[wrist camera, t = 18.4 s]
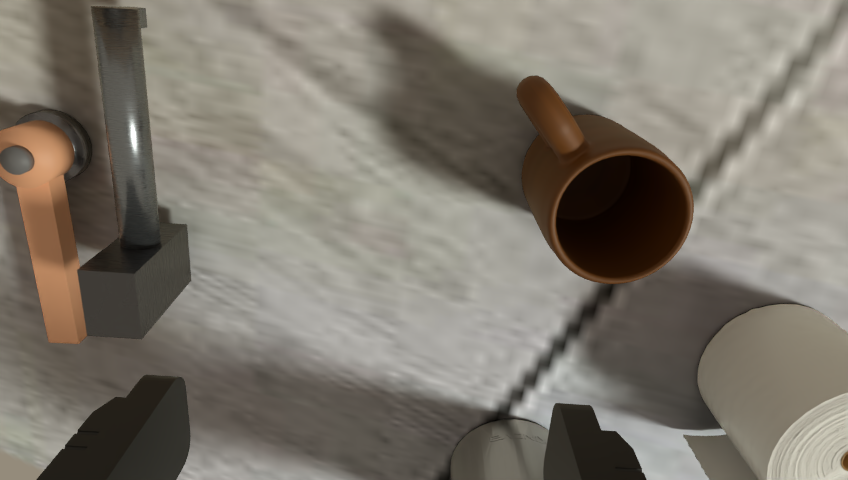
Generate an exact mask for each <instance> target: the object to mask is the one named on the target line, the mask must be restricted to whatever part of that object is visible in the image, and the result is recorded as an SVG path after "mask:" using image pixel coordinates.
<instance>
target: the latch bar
mask: <svg viewBox="0 0 848 480" xmlns="http://www.w3.org/2000/svg"><path fill="white" fill-rule="evenodd" d="M73 162H74V148H73V145H72V143H71V141H70V139H69V137H68V136H67V135H66V133H65V132H64V131H63V130H62V129H60V128H59V127H58V126H56V125H54V124H52V123H50V122H47V121H42V120H34V121H29V122H26V123H23V124H20V125H16V126H13V127H10V128H7V129H3V130H1V131H0V177H1V178H3V179H4V180H5V181H6V182H8V183H10V184H12V185H14V186H16V188H17V193H18V197H19V202H20V207H21V212H22V217H23V221H24V226H25V231H26V236H27V240H28V245H29V250H30V255H31V260H32V264H33V269H34V274H35V279H36V283H37V288H38V293H39V298H40V302H41V307H42V312H43V317H44V322H45V326H46V331H47V336H48V341H49V343H70V344H79V343H80V342H81V341H82V340H83V339H84V338H85V337H86V336H87V332H86V325H85V319H84V312H83V306H82V299H81V293H80V286H79V280H78V273H77V270H78V269H79V268H80V265H79V259H78V254H77V248H76V242H75V237H74V231H73V225H72V220H71V214H70V209H69V203H68V197H67V192H66V186H65V180H64V174H65V173H67V172H68V171H69V170H70V168H71V167H72V165H73Z"/></svg>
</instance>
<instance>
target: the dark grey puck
mask: <svg viewBox="0 0 848 480" xmlns="http://www.w3.org/2000/svg"><path fill="white" fill-rule="evenodd" d="M34 120H42V121H47V122H50V123H52V124H54V125H56V126H58V127H59V128H60V129H62V130H63V131H64V132H65V133H66V135H67V136H68V137H69V139H70V141H71V143H72V145H73V148H74V162H73V165H72V167H71V168H70V170H69V171H68V172H67V173H65V174H64V180H65V181H66V180H69V179H71V178H73V177H75V176H77V175H79V174H80V173H82V172H83V171H84V170H85V169H86V168H87V167H88V165H89V163H90V160H91V156H92V146H91V142H90V139H89V137H88V134H87V133H86V131H85V130H84V128H83V127H82V126H81V125H80V124H79V123H78V122H77V121H76V120H75V119H74V118H72V117H71V116H69V115H67V114H65V113H63V112H60V111H56V110H42V111H39V112H35V113H32V114H28V115H26V116H24V117H23V118H21V119H20V120H19V121H18V122H17V123H16V125H20V124H23V123H26V122H29V121H34ZM16 125H15V126H16Z"/></svg>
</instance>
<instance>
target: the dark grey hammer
mask: <svg viewBox="0 0 848 480" xmlns="http://www.w3.org/2000/svg"><path fill="white" fill-rule="evenodd" d="M91 11H92V19H93V27H94V35H95V43H96V52H97V60H98V68H99V76H100V84H101V92H102V100H103V109H104V117H105V125H106V133H107V141H108V149H109V157H110V165H111V174H112V182H113V190H114V198H115V206H116V214H117V222H118V231H119V238H118V239H116V240H115V241H114V242H112V243H111V244H110V245H109V246H107V247H106V248H105V249H103V250H102V251H101V252H100V253H98V254H97V255H96V256H94V257H93V258H92V259H90V260H89V261H88V262H87V263H85V264H84V265H83V266H81V267H80V268H79V269H78V270H77V273H78V280H79V286H80V293H81V299H82V306H83V312H84V319H85V325H86V332H87V336H101V337H117V338H132V339H142V338H143V337H144V336H145V335H146V334H147V332H148V331H149V330H150V329H151V328H152V326H153V325H154V324H155V323H156V322H157V320H158V319H159V318H160V317H161V316H162V315H163V313H164V312H165V311H166V310H167V309H168V307H169V306H170V305H171V304H172V303H173V301H174V300H175V299H176V298H177V297H178V295H179V294H180V293H181V292H182V291H183V289H184V288H185V287H186V286H187V285H188V284H189V282H190V281H191V272H190V259H189V246H188V233H187V225H186V224H172V223H159V215H158V204H157V194H156V183H155V173H154V162H153V152H152V141H151V131H150V120H149V110H148V99H147V89H146V78H145V68H144V57H143V47H142V36H141V28H146V27H147V19H146V8H137V7H105V6H91Z"/></svg>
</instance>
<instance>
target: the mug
mask: <svg viewBox="0 0 848 480" xmlns="http://www.w3.org/2000/svg"><path fill="white" fill-rule="evenodd" d="M517 99H518V101H519V103H520V105H521V107H522V108H523V110H524V112H525V113H526V115H527V116H528V118H529V119H530V121H531V122H532V124H533V125H534V127H535V128H536V130H537V131H538V133H539V135H538V136H537V137H536V139H535V140H534V141H533V143H532V144H531V146H530V148H529V149H528V151H527V154H526V156H525V159H524V163H523V168H522V187H523V191H524V194H525V197H526V200H527V202H528V204H529V207H530V209H531V211H532V213H533V215H534V218H535V220H536V222H537V224H538V226H539V228H540V230H541V232H542V234H543V236H544V238H545V240H546V241H547V243H548V245H549V246H550V248H551V249H552V250H553V251H554V253H555V254H556V256H557V257H558V258H559V259H560V261H561V262H562V263H563V264H564V265H565V266H566V267H567V268H568V269H569V270H571V271H572V272H574V273H575V274H577V275H578V276H580V277H582V278H584V279H587V280H590V281H594V282H599V283H607V284H620V283H627V282H632V281H635V280H639V279H641V278H644V277H646V276H648V275H650V274H652V273H654V272H656V271H657V270H659V269H660V268H662V267H663V266H664V265H665V264H667V263H668V262H669V261H670V260H671V259H672V258H673V257H674V256H675V255H676V254H677V252H678V251H679V249H680V248H681V247H682V245H683V243H684V242H685V240H686V238H687V236H688V233H689V231H690V228H691V224H692V220H693V212H694V204H693V196H692V191H691V188H690V185H689V183H688V181H687V179H686V177H685V176H684V174H683V173H682V171H681V170H680V169H679V168H678V167H677V166H676V165H675V164H674V163H673V162H672V161H671V160H670V159H669V158H668V157H667V156H666V155H665V154H664V153H663V152H661V151H660V150H659V149H658V148H656V147H655V146H653V145H652V144H650V143H649V142H647V141H646V140H644V139H643V138H641V137H640V136H638V135H636V134H635V133H633V132H631V131H630V130H628V129H626V128H625V127H623V126H622V125H620V124H618V123H616V122H614V121H613V120H610V119H607V118H605V117H601V116H597V115H575V116H572V115H571V113H570V112H569V110H568V109H567V107H566V106H565V104H564V103H563V101H562V100H561V98H560V97H559V95H558V94H557V93H556V91H555V90H554V89H553V87H552V86H551V85H550V84H549V83H548V82H547V81H546V80H545V79H544V78H542V77H539V76H529V77H527V78H525V79H523V80H522V81H521V82H520V83H519V85H518V88H517Z"/></svg>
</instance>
